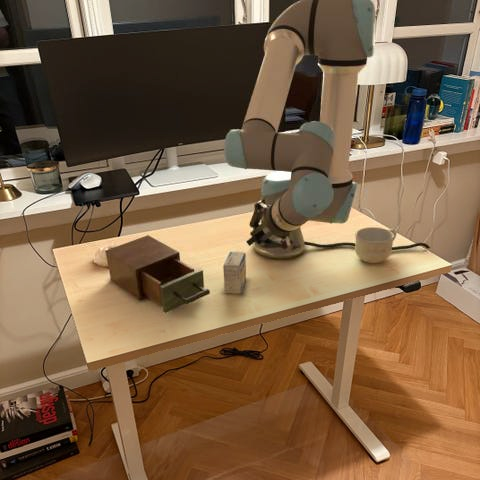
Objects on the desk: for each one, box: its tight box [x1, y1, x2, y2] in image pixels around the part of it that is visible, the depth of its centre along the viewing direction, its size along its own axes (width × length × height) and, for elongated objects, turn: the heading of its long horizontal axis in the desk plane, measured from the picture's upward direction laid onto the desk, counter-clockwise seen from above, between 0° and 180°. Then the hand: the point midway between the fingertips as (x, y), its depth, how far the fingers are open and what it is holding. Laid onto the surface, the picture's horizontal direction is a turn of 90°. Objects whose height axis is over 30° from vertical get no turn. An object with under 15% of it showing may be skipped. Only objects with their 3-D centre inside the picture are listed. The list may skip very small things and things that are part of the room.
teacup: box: [354, 227, 397, 264], centre depth 143 cm, size 14×11×8 cm
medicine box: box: [222, 251, 247, 295], centre depth 130 cm, size 8×4×9 cm, turn 168°
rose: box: [93, 245, 117, 268], centre depth 145 cm, size 10×4×10 cm
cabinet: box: [105, 234, 181, 302], centre depth 133 cm, size 15×14×9 cm
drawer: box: [139, 257, 211, 314], centre depth 125 cm, size 20×13×7 cm, turn 43°
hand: (251, 241), depth 129 cm, fingers closed
